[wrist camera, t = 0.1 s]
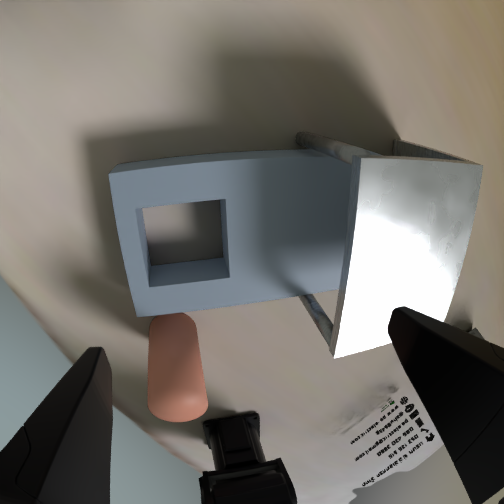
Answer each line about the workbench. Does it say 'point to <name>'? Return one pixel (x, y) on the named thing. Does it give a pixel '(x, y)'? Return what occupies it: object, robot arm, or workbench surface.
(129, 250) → the socket board
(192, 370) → the peg
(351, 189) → the awning
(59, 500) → the robot arm
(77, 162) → the workbench surface
